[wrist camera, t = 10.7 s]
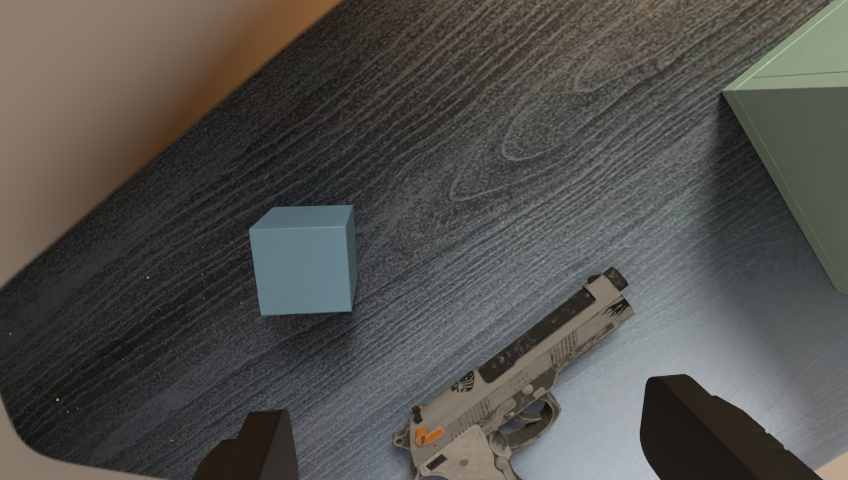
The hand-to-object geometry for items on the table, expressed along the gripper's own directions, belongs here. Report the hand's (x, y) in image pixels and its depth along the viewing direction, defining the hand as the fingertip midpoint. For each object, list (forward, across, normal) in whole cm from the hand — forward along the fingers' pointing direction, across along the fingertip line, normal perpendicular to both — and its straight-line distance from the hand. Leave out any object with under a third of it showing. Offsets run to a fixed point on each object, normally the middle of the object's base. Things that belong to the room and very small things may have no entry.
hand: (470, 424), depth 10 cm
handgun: (+17, -7, +13) cm, 23 cm away
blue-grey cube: (+17, +6, +1) cm, 18 cm away
